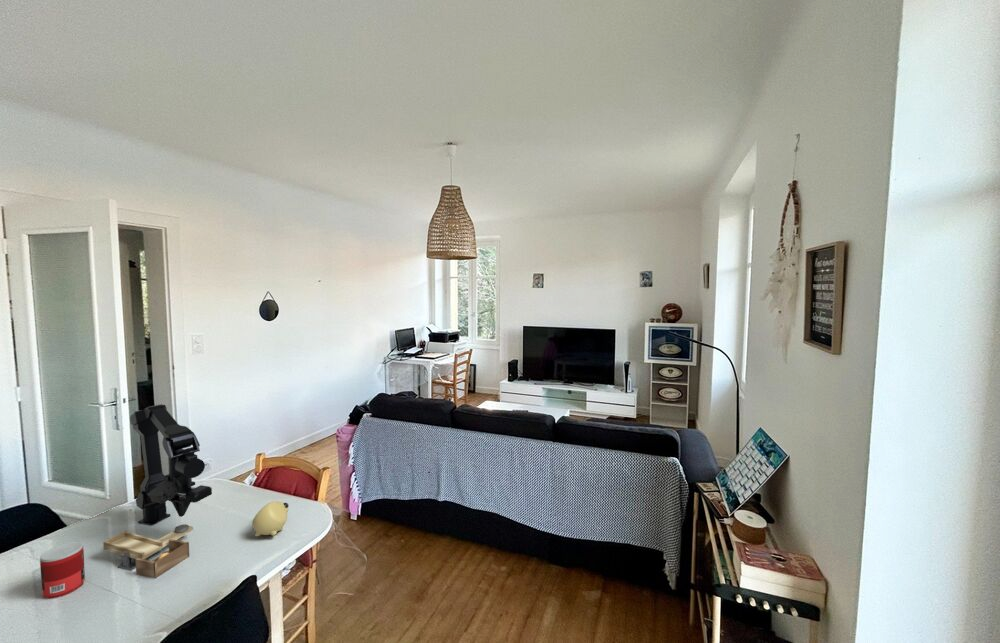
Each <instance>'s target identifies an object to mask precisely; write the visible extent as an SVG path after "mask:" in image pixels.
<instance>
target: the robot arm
mask: <svg viewBox="0 0 1000 643" xmlns="http://www.w3.org/2000/svg"><path fill="white" fill-rule="evenodd" d="M129 422H130V424H131V425H132V429H133V431H135V432H136V433H137V434H138V435H139V436H140V440H141V441H140V442H141V443H140V444H141V449H142V450H141V452H142V457H143V458H142V459H143V460H142V461H143V468H144V476H145V477H144V478H143V480H142V482H141V484H140V486H139V489H140V491H139V492H138V494H137V496H136V499H135V504H136V507H138V508H139V509H141V510H142V519H140V520H138V524H142V525H143V524H144V525H148V526H149V525H150V526H154V525H156V524H158V523H160V522H162V521H163V520H165V519H167V518H169V517H171V515H172V514H171V513H167V503H166V502H167V501H169V502H171V504H172V505H173V507H174V509H175V511H176V513H177V514H178V517H180V518H181V517H183V516H185V515H186V512H187V511H188V508H189V507H190V505H191V503H198V502H200V501H202V500H204V499H206V498H208V497H209V496H211V495H213V488H212V487H211V486H210V485H202V484H200V485H199V486H197V487H196V486H195V485H196V481H192V479H194V478H197V477H199V476H200V475H201V474H202V473H203V472H204V471H205V468H206V463H205V462H204V460H202V459H200V458H199V457H198V454H196V453H197V452H200V451H201V449H200V446H201V445H200V442H199V440H198V438H197V435H196V434H195V433H194V432H193V431H192V430H191V429H190V428H189V427H188V426H185V425H181V424H179V423H178V422H177V421H176V419H174V417H173V416H172V415H171V413H170V412H169V411H168V410H167V405H166V404H162V403H161V404H154V405H151V406H148V407H145V408H144V409H142V410H141V409H140V410H135V411H134V412H133V413H132V414H131V415H130V417H129ZM159 433H161V435H162V436H163V439H162V447H163V450H164V451H165V453H166V455H167V458H168V460H167V461H168V474H164V472H163V466H162V459H161V458H162V457H161V450H160V449H161V448H160V440H159ZM194 486H195V487H194Z"/></svg>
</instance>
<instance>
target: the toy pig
mask: <svg viewBox="0 0 1000 643" xmlns="http://www.w3.org/2000/svg"><path fill="white" fill-rule="evenodd" d="M288 511H289V503H288V502H283V501H279V500H278V501H270V502H268V503H266V505H264V506H263V507H262V508H261V509H260V510H259V511H258V512H257V513H256V515H255V516H254V518H253V520H252V522H251V523H252V527H253V530H254V531H255V536H256V537H259V536H261V535H264V536H267V535H268V536H269V535H271V536H276V535H277V532H282V531H283V529H284V526H285V524H286V522H287V520H288Z"/></svg>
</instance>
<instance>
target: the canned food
mask: <svg viewBox="0 0 1000 643" xmlns="http://www.w3.org/2000/svg"><path fill="white" fill-rule="evenodd" d="M84 552H85V551H84V543H83V542H81V541H70V542H65V543H62V544H59V545H56V546H54V547H52V548H50V549H48V550H46V551H44V552H43V553H42V554H41V555H40V557H39V567H40V578H41V580H40V582H41V594H42V597H43V598H45V599H49V600H50V599H57V598H61V597H64V596H66V595H69V594H71V593H72V592H75V591H76V590H78V589H79V588H80V587H82V586H83V584H84V582H85V580H86V575H85V553H84Z"/></svg>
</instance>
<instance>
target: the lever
mask: <svg viewBox="0 0 1000 643" xmlns="http://www.w3.org/2000/svg"><path fill="white" fill-rule="evenodd" d="M193 530H194V526H191V525H189V524H185V523H184V524H180V525H177V526H176V527H174V529H173V530H172V531H171V532H169V533H168V534H165V535H164V536H162V537H161V538H159V539H155V538H152V539H151V537H147V536H144V535H141V534H136V533H133V532H129V531H127V530H124V531H122V532H120V533H118V534H116V535H114V536H112V537H110V538H108V539H106V540H104V541H103V550H105V551H108V552H112V553H114V554H118V555H121V556H123V554H124V553H129V557H131V558H134V559H137V558H140V559H146V558H147V557H149V556H151V555H152V554H154V553H156V552H157V551H161V550H162V549H164V548H165V547H167V546H169V540H170V539H174V540H179V539H180V538H181V537H184V536H185V535H187V534H189V533H190V532H192V531H193Z"/></svg>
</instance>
